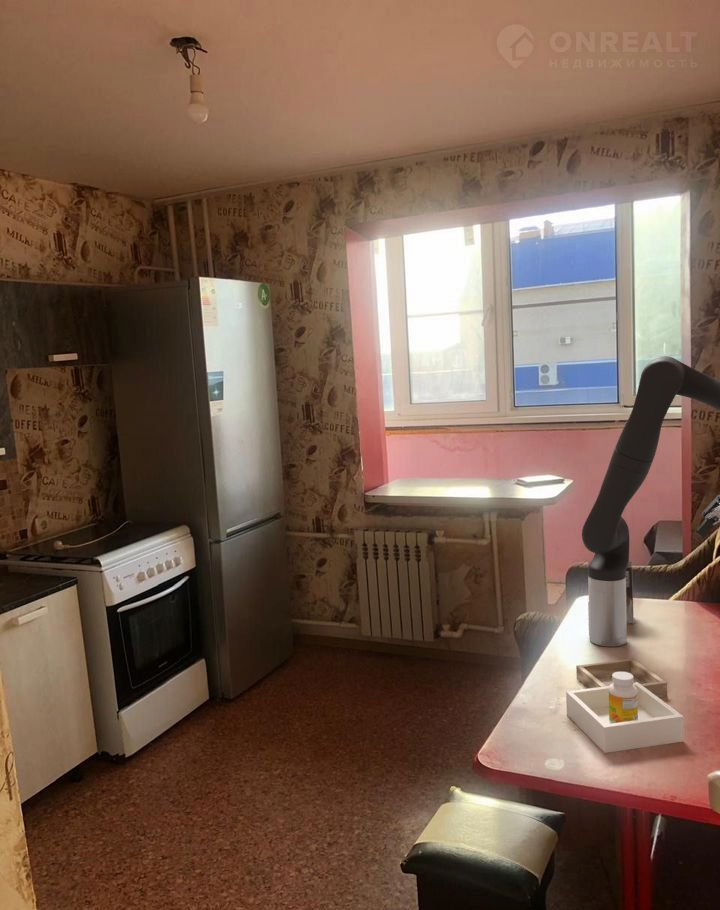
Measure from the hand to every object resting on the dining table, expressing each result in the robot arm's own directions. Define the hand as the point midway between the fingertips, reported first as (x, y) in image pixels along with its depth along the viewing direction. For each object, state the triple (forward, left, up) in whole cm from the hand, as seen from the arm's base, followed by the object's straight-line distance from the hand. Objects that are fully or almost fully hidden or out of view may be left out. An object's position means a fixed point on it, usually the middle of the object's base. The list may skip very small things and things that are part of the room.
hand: (711, 539), depth 159 cm
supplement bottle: (+13, -28, -32) cm, 45 cm away
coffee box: (-44, +1, -33) cm, 55 cm away
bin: (+13, -29, -33) cm, 45 cm away
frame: (-4, -20, -33) cm, 38 cm away
